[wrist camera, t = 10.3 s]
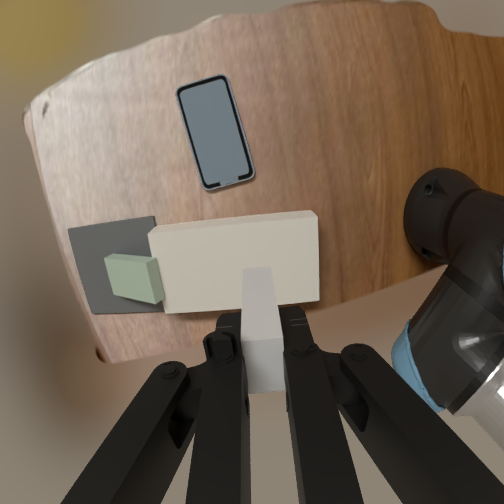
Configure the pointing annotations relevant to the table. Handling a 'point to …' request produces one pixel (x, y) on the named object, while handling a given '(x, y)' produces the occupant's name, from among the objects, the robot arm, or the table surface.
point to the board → (236, 259)
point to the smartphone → (215, 132)
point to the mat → (93, 265)
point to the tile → (135, 277)
